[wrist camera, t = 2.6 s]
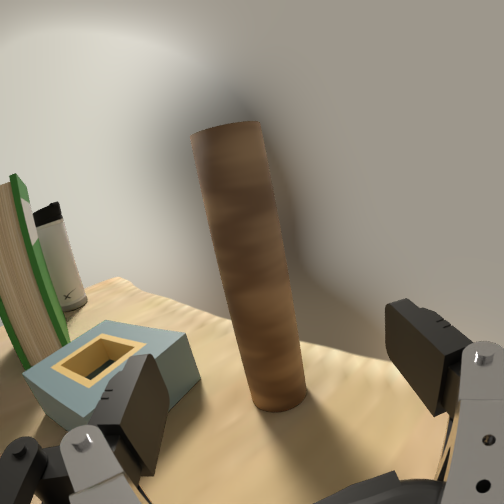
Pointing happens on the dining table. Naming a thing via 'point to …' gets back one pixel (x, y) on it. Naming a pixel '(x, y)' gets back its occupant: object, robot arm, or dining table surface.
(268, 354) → the peg
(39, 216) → the travel mug
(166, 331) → the socket block
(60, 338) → the hardback book
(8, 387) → the dining table surface
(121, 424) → the robot arm
